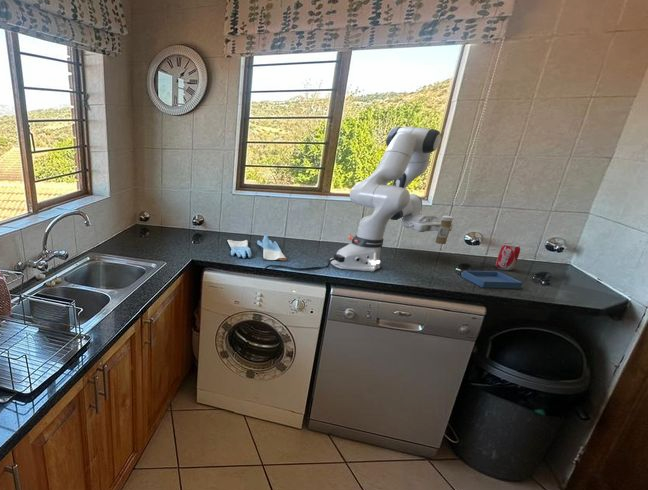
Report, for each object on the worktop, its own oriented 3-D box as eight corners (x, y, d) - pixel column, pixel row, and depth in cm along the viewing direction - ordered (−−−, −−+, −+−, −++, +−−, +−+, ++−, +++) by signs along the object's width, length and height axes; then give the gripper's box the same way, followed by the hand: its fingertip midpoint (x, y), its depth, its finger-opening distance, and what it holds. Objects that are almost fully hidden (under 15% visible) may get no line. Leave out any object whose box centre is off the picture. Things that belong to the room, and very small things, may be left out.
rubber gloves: (231, 258, 204) (232, 246, 201) (227, 241, 234) (228, 230, 232) (286, 261, 201) (288, 248, 198) (275, 243, 231) (276, 232, 229)
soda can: (516, 272, 189) (525, 247, 185) (497, 270, 191) (506, 245, 187) (509, 267, 195) (517, 243, 191) (491, 265, 197) (499, 242, 193)
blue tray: (482, 287, 171) (484, 281, 170) (460, 276, 183) (462, 270, 182) (520, 288, 170) (522, 282, 169) (496, 277, 182) (498, 271, 181)
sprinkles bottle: (447, 243, 200) (455, 216, 195) (443, 244, 198) (451, 217, 193) (437, 241, 204) (444, 215, 199) (433, 242, 201) (440, 216, 196)
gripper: (407, 218, 206) (430, 224, 194) (439, 216, 211) (464, 222, 198) (404, 230, 208) (427, 237, 196) (435, 228, 213) (460, 235, 201)
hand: (446, 229), depth 197 cm, fingers closed on sprinkles bottle, 4 cm apart
